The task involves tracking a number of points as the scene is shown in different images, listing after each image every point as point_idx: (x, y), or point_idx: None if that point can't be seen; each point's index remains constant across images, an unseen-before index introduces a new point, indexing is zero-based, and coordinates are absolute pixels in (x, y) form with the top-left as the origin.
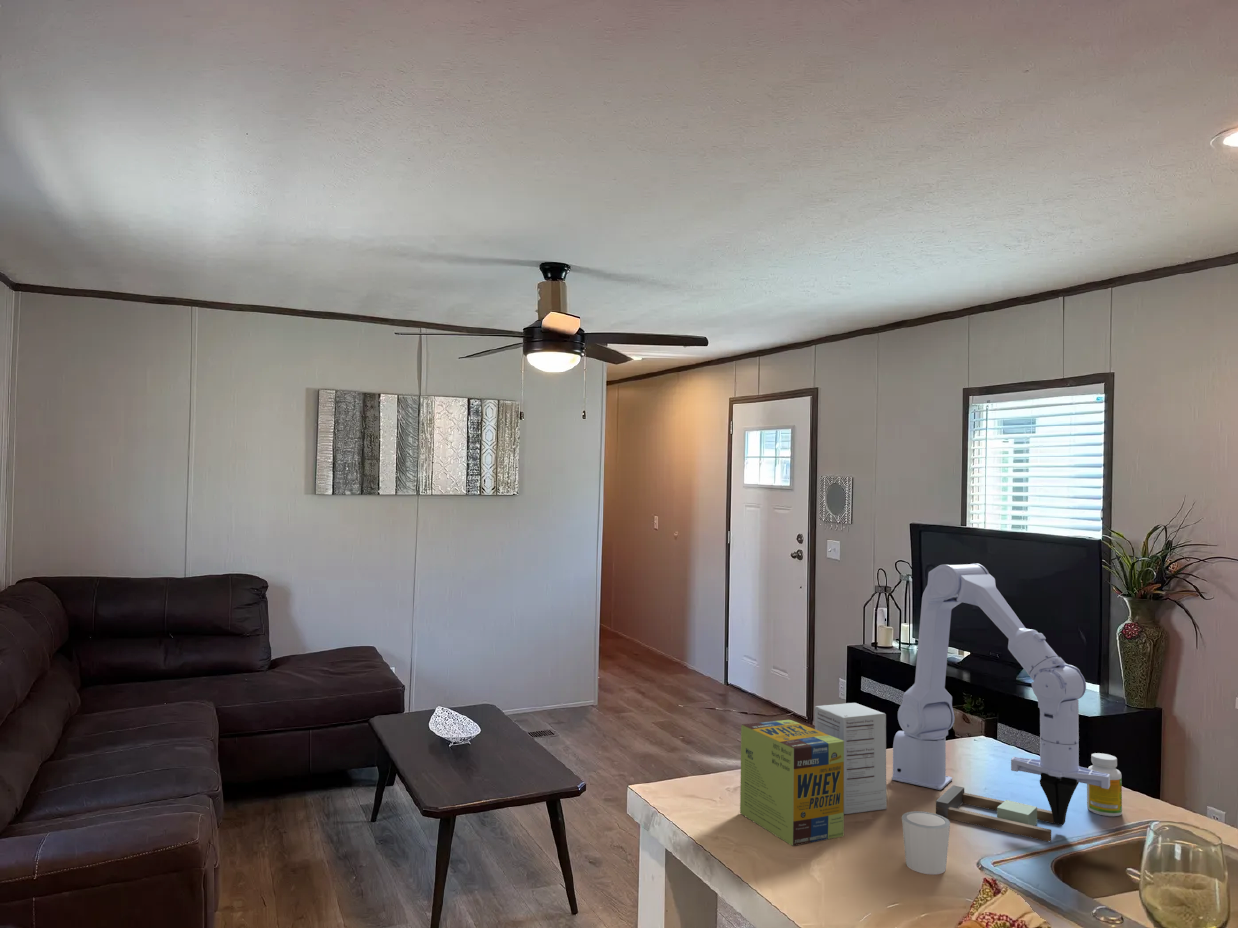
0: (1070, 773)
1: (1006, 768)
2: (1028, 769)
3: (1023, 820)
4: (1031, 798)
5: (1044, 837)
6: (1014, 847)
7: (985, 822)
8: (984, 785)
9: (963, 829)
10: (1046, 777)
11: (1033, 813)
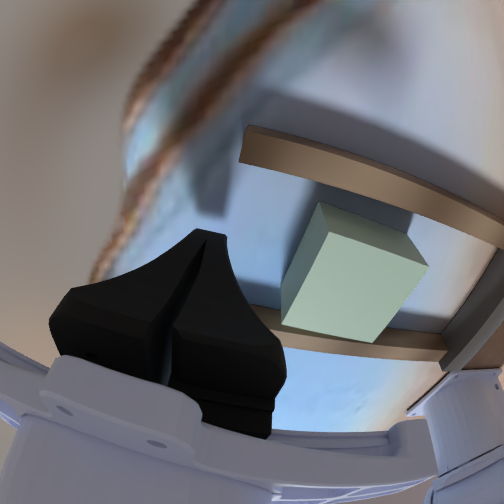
0: (19, 397)
1: None
2: (340, 448)
3: (341, 223)
4: (276, 402)
5: (268, 131)
6: (380, 25)
7: (454, 197)
8: (354, 416)
9: (501, 151)
10: (234, 410)
11: (298, 282)
